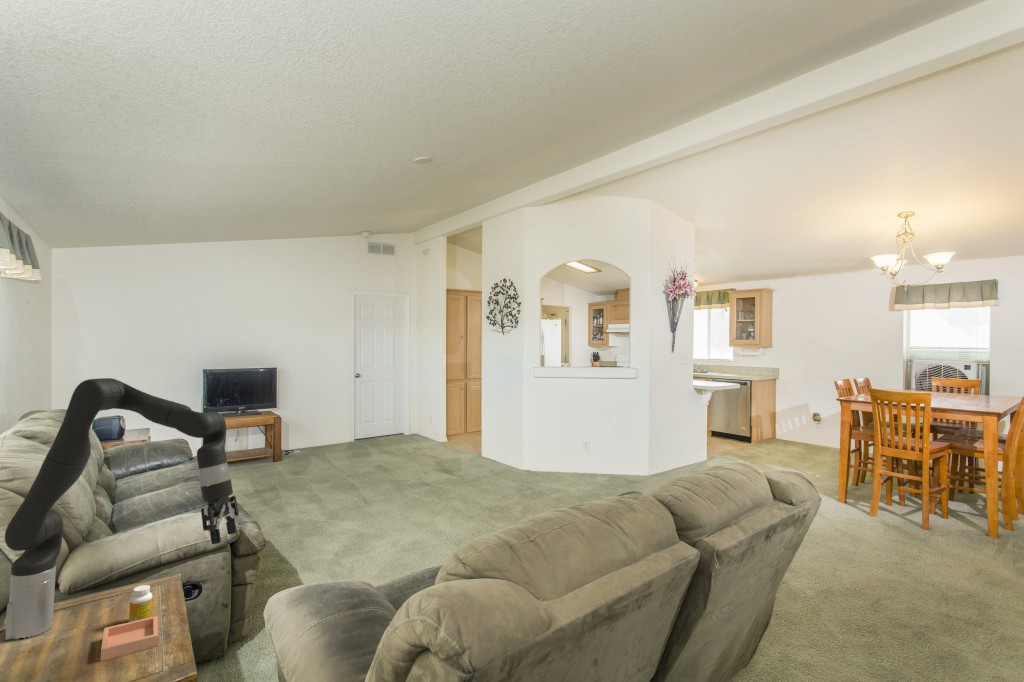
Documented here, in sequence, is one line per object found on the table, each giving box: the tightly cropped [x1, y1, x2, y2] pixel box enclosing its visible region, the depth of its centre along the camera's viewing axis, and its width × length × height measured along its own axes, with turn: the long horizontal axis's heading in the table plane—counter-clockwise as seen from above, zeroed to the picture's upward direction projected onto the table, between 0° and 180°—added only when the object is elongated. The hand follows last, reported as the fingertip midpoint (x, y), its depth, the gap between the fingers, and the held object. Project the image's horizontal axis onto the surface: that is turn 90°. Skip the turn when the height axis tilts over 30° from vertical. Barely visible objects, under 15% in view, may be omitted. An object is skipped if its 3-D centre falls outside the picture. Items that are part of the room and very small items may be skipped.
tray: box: [100, 615, 159, 662], centre depth 136 cm, size 12×12×3 cm
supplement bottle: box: [128, 584, 153, 622], centre depth 147 cm, size 5×5×10 cm
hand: (224, 538), depth 140 cm, fingers open, 8 cm apart
